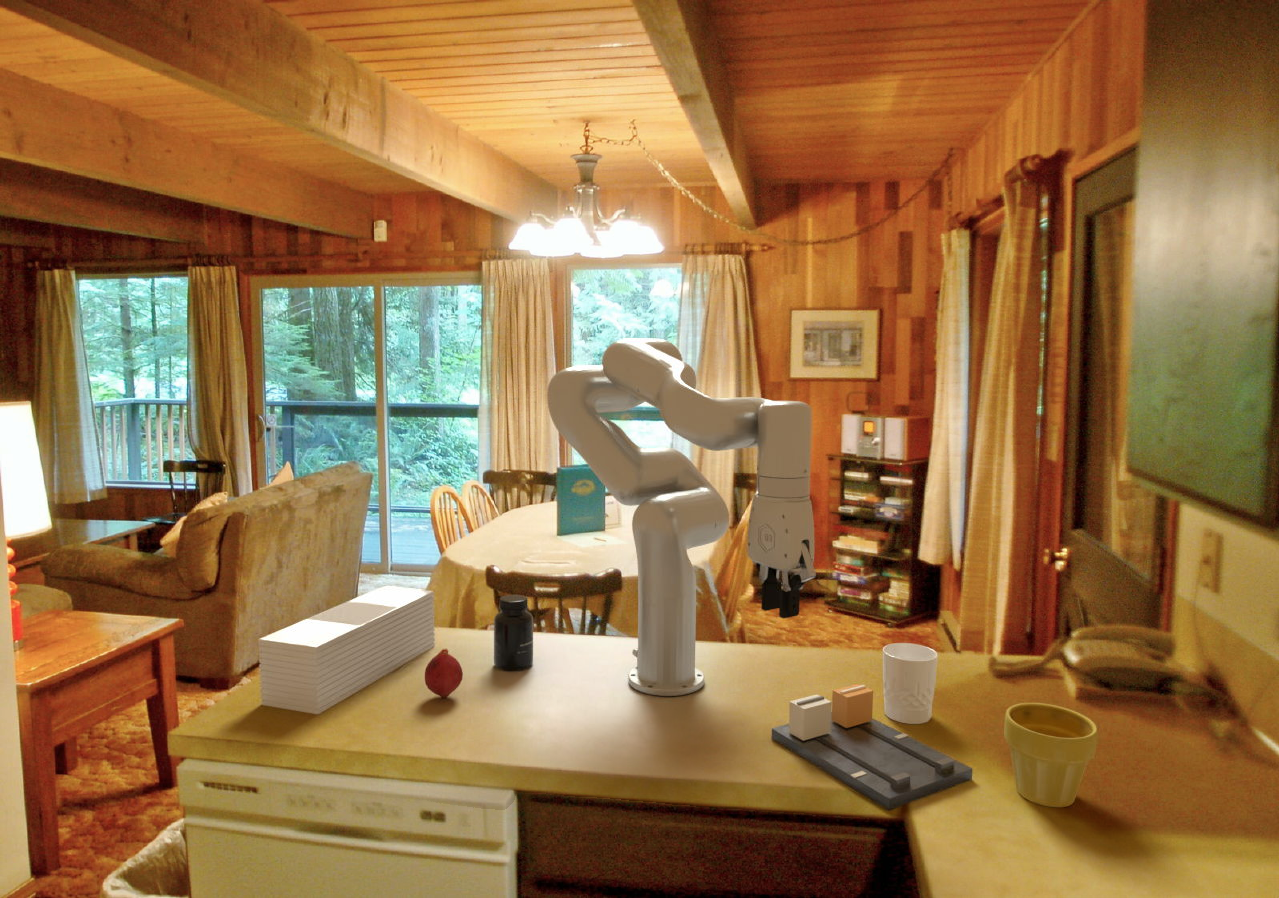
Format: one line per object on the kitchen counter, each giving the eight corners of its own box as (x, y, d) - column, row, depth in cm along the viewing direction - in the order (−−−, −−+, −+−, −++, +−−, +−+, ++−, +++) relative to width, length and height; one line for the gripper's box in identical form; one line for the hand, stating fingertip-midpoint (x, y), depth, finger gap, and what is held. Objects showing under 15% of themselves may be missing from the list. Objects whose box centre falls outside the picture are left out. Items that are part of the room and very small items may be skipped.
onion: (436, 708, 130) (434, 657, 129) (418, 696, 134) (417, 647, 133) (469, 698, 134) (468, 649, 133) (451, 687, 138) (450, 639, 137)
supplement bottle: (530, 672, 145) (529, 603, 144) (490, 671, 145) (489, 603, 144) (535, 657, 152) (535, 592, 150) (497, 657, 152) (497, 592, 151)
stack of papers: (318, 715, 128) (315, 646, 126) (261, 706, 131) (258, 638, 130) (434, 647, 158) (433, 590, 157) (386, 640, 161) (384, 585, 160)
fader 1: (788, 732, 119) (789, 699, 118) (815, 724, 121) (816, 692, 120) (803, 740, 116) (804, 706, 115) (830, 732, 118) (831, 699, 118)
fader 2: (831, 719, 123) (832, 688, 122) (857, 712, 125) (858, 681, 125) (846, 727, 120) (847, 695, 119) (872, 720, 122) (873, 688, 122)
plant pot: (1112, 811, 102) (1118, 733, 100) (1037, 820, 99) (1041, 741, 98) (1053, 770, 112) (1058, 698, 111) (983, 777, 109) (987, 705, 108)
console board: (771, 738, 120) (771, 720, 120) (849, 716, 128) (850, 699, 128) (888, 810, 101) (889, 788, 101) (971, 779, 109) (973, 759, 109)
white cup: (938, 728, 124) (941, 662, 123) (882, 723, 125) (885, 658, 124) (931, 706, 132) (933, 644, 130) (878, 702, 133) (880, 640, 132)
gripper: (727, 481, 126) (725, 601, 128) (801, 498, 112) (797, 633, 114) (767, 478, 130) (764, 595, 132) (843, 493, 116) (839, 624, 118)
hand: (780, 611), depth 123 cm, fingers open, 3 cm apart
